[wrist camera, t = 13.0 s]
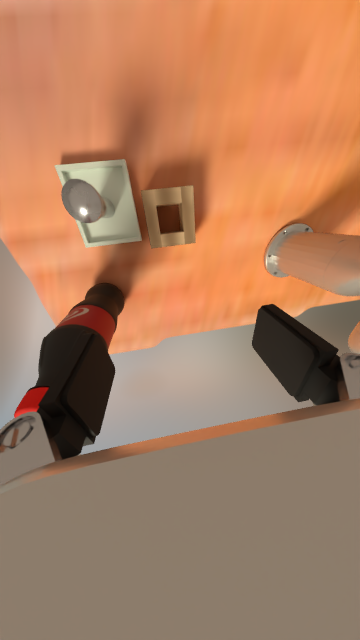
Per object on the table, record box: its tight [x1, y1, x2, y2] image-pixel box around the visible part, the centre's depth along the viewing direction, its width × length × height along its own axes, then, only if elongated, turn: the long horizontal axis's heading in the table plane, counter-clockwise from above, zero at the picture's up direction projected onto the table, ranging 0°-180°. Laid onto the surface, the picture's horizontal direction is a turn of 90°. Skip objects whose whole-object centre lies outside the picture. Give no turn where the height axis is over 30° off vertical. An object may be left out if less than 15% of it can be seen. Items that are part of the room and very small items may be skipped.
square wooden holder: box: [141, 185, 196, 248], centre depth 31 cm, size 9×9×5 cm
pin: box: [62, 179, 115, 223], centre depth 26 cm, size 5×5×12 cm
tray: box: [55, 159, 142, 247], centre depth 30 cm, size 11×12×2 cm
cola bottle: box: [14, 283, 124, 418], centre depth 28 cm, size 8×8×30 cm
